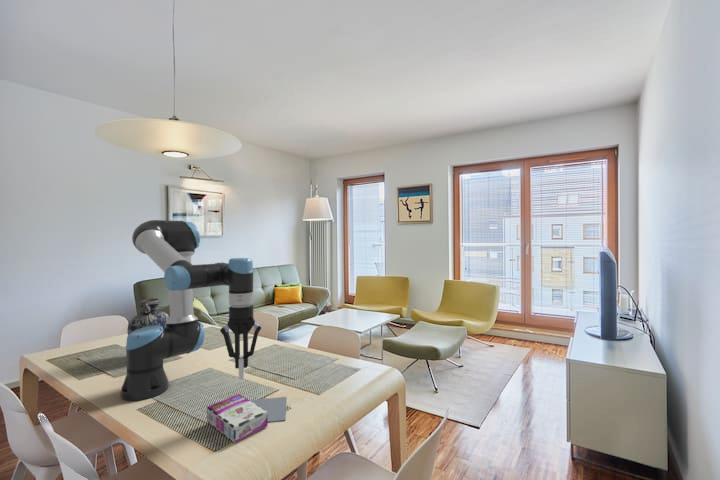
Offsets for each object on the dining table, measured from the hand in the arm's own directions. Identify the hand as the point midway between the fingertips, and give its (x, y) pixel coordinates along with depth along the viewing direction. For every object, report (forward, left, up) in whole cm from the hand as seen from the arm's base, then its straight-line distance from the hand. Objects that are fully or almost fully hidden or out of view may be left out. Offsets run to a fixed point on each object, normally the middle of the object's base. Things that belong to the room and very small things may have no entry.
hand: (241, 377), depth 112 cm
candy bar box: (-6, -1, -8) cm, 10 cm away
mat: (+5, 0, -11) cm, 12 cm away
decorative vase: (-52, +66, -12) cm, 85 cm away
